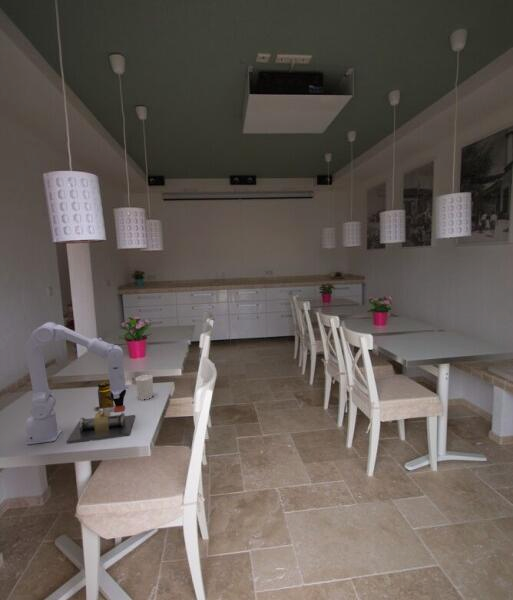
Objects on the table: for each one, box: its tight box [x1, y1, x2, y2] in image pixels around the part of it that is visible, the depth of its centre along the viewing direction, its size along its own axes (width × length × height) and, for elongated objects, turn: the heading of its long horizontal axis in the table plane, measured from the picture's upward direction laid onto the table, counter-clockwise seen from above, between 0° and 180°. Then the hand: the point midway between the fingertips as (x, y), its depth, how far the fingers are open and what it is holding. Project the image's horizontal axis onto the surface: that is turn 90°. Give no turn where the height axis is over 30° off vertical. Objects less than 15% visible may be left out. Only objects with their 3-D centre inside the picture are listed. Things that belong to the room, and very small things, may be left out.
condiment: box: [93, 380, 115, 415], centre depth 157 cm, size 7×8×12 cm
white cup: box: [134, 374, 154, 401], centre depth 168 cm, size 8×8×10 cm
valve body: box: [66, 412, 136, 444], centre depth 138 cm, size 22×16×7 cm
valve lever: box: [98, 404, 126, 414], centre depth 138 cm, size 10×2×2 cm, turn 100°
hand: (119, 409), depth 141 cm, fingers closed
